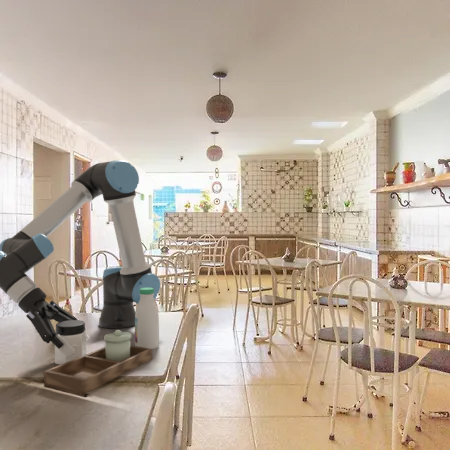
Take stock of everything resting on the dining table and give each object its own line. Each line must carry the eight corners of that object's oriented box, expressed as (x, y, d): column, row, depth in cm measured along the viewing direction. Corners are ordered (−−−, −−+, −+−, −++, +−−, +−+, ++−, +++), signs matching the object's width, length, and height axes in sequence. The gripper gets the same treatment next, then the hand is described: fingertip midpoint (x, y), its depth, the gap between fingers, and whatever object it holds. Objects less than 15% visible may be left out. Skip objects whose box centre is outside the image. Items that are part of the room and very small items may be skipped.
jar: (58, 370, 119) (57, 328, 119) (52, 362, 126) (51, 322, 126) (90, 364, 124) (89, 324, 124) (82, 356, 131) (82, 318, 131)
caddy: (115, 355, 132) (115, 342, 132) (152, 362, 126) (152, 348, 126) (44, 386, 108) (44, 371, 108) (85, 397, 102) (84, 380, 102)
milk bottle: (163, 347, 140) (163, 287, 140) (150, 354, 133) (149, 291, 133) (144, 344, 144) (144, 285, 143) (130, 350, 137) (129, 289, 136)
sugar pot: (116, 356, 128) (116, 325, 128) (136, 360, 125) (136, 328, 124) (98, 364, 121) (98, 331, 121) (119, 369, 118) (119, 334, 118)
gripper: (37, 296, 137) (85, 343, 137) (-5, 313, 113) (53, 370, 113) (53, 280, 137) (101, 327, 137) (15, 294, 113) (72, 351, 113)
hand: (79, 347), depth 125 cm, fingers open, 12 cm apart
